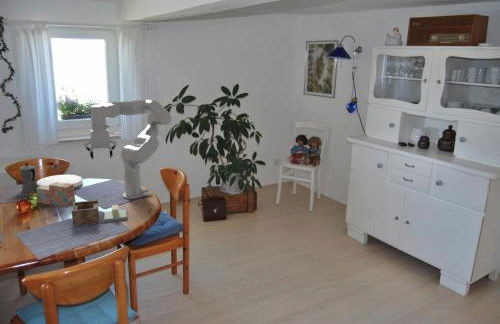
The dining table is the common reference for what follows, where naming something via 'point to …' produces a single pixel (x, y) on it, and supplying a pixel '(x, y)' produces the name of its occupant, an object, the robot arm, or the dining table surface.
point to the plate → (60, 180)
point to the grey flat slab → (111, 220)
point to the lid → (115, 214)
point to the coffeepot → (28, 178)
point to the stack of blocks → (57, 194)
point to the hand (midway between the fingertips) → (101, 157)
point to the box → (85, 212)
